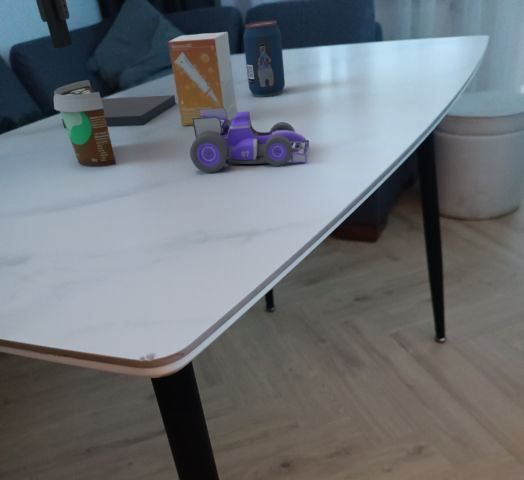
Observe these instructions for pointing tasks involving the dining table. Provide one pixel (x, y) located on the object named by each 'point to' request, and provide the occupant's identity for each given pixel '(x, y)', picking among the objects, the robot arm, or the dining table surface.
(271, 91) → the soda can
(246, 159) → the toy race car
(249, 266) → the dining table surface
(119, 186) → the dining table surface
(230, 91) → the small box
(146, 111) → the scale
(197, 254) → the dining table surface
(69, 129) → the food container
